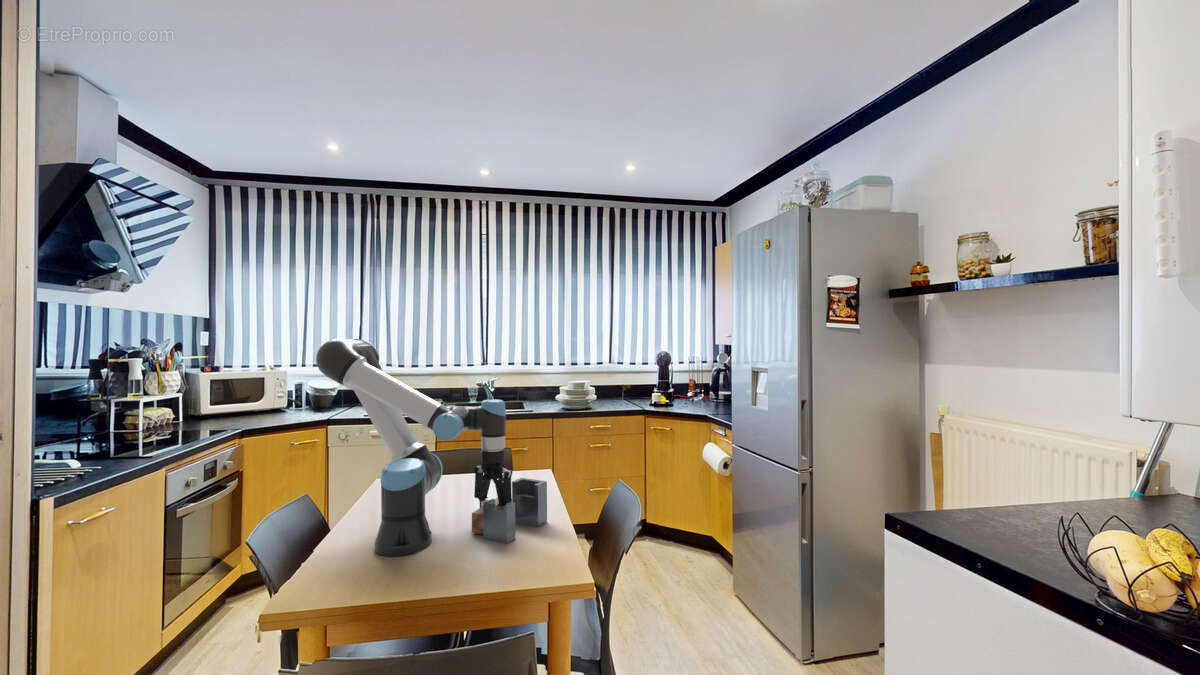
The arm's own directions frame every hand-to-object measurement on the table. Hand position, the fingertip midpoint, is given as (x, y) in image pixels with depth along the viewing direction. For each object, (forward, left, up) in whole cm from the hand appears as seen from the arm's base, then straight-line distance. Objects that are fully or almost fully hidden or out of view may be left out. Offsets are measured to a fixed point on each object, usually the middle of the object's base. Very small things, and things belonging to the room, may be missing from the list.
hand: (492, 522), depth 153 cm
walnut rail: (0, 0, -1) cm, 1 cm away
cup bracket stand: (+9, 0, -1) cm, 9 cm away
